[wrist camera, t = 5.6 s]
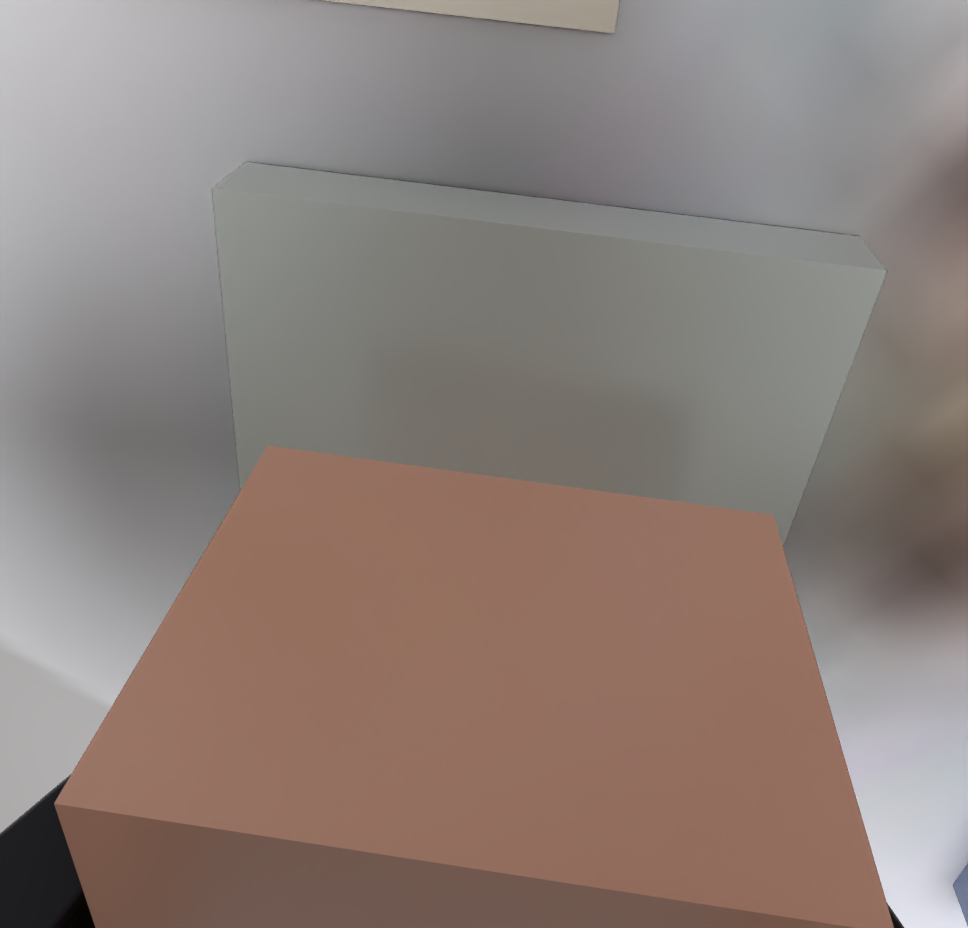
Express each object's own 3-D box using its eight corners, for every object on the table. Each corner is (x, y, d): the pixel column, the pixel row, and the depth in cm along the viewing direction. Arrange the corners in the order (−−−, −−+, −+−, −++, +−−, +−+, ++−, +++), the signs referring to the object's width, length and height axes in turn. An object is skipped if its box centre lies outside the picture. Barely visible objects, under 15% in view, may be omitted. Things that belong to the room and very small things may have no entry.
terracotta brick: (774, 514, 8) (895, 934, 5) (665, 816, 11) (695, 1212, 8) (267, 445, 8) (54, 804, 5) (288, 759, 11) (160, 1122, 8)
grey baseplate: (860, 236, 11) (887, 270, 10) (709, 666, 15) (718, 720, 14) (245, 161, 11) (211, 187, 10) (276, 605, 16) (255, 653, 15)
